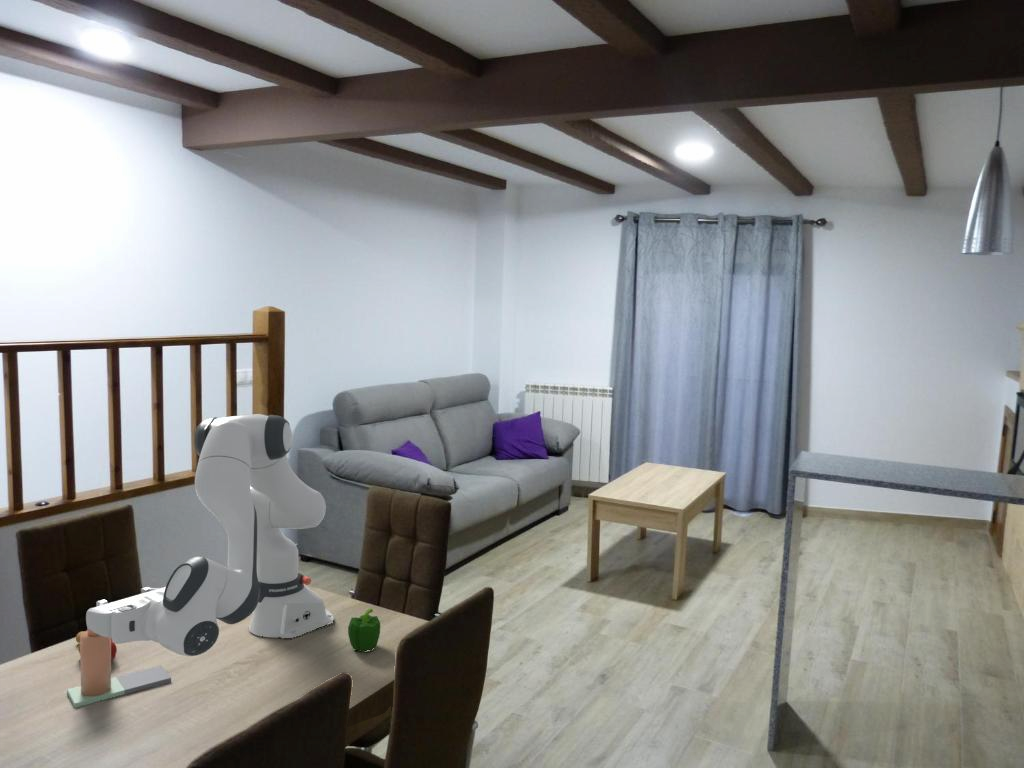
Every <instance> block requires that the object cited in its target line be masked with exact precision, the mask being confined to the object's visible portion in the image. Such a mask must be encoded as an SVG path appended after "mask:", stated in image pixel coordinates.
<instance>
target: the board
mask: <svg viewBox="0 0 1024 768" xmlns="http://www.w3.org/2000/svg"><path fill="white" fill-rule="evenodd" d="M171 682H172V677H171V676H170V674H169V673H168V672H167V671H166V669H165V668H164V667H163V666H162V665H161V664H160V665H157V666H152V667H150V668H146V669H141V670H137V671H133V672H129V673H126V674H125V673H124V674H121V675H118V676H114V677H111V689H110V690H109V691H108V692H106V693H104V694H102V695H98V696H84V695H82V694H81V685H79V686H74V687H70V688H67V689H66V694H67V696H68V698H69V700H70V699H71V700H70V701H72V702H71V704H72V705H73V707H74V709H75V708H79V707H83V706H87V705H90V704H94V702H95V703H97V701H98V702H101V701H100V700H102V701H104V700H105V699H106V700H109V699H112V697H113V698H117V697H120V696H124V695H127V694H131V693H134V692H135V693H136V692H138V691H142V690H146V689H149V688H152V687H153V688H154V687H158V686H161V685H163V684H168V683H171ZM119 695H120V696H119ZM116 696H117V697H116ZM108 698H109V699H108Z"/></svg>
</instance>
